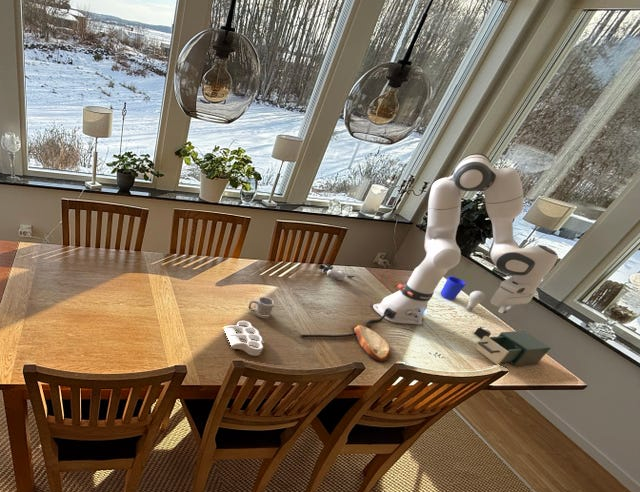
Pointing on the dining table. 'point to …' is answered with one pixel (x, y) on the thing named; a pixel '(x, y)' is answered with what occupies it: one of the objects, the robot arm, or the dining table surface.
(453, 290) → the mug
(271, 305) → the mug
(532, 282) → the robot arm
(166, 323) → the dining table surface
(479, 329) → the binder clip
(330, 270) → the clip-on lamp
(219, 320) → the dining table surface
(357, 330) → the bread slice
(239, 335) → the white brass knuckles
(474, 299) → the lightbulb
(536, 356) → the cabinet
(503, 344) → the drawer
